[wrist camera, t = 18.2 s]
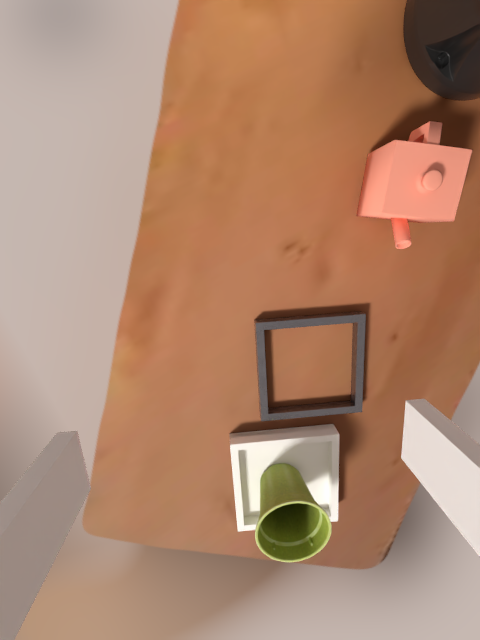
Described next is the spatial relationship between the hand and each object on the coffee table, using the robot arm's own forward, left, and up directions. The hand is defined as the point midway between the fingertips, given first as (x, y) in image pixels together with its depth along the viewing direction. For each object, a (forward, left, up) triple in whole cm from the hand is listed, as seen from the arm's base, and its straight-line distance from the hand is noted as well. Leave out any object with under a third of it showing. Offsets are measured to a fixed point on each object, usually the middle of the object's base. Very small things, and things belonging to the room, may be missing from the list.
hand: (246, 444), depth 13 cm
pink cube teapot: (-20, -11, -29) cm, 37 cm away
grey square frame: (-10, +10, -29) cm, 32 cm away
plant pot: (-5, +27, -28) cm, 39 cm away
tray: (-6, +27, -29) cm, 40 cm away
